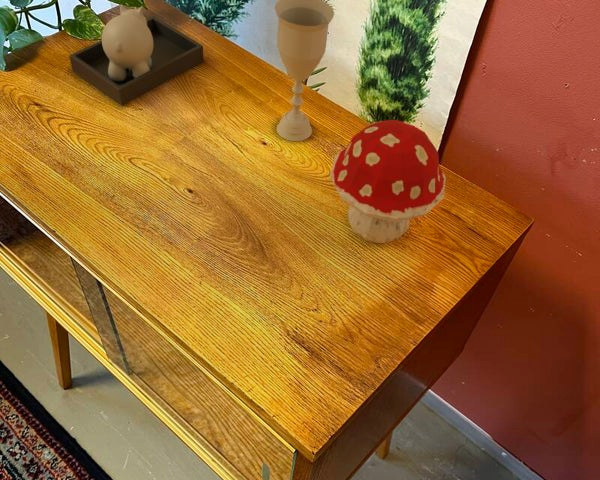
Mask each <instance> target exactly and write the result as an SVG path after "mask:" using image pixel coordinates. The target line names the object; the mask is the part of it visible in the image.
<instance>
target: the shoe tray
mask: <svg viewBox="0 0 600 480" xmlns="http://www.w3.org/2000/svg"><path fill="white" fill-rule="evenodd" d="M146 21H147V27H148V28H149V30H150V32H151V34H152V37H153V51H152V54H151V56H150V57H151V60H152V67H151V68H150V71H148V72H146V73H144V74H143V75H141V76H139V77H137V78H135V79H134V77H133V73H132V72H130V71H129V69H126V73H127V76H126V79H125V80H123V81H119V82H116V81H113V80H111V79H110V78H109V75H108V68H109V64H110V60H109V58H108V57H107V55H106V54H105V52H104V49H103V46H102V39H101V40H98V41H97V42H95V43H93V44H90V45H88V46H86V47H85V48H82V49H79V50H77V51H75V52H73V53H71V54H69V55H68V57H69V61H70V65H71V70H72V72H73V73H74V74H76V75H77V76H78V77H80V78H81V79H83V80H84V81H85V82H87V83H89V84H90V85H92V86H93V87H94V88H96V89H97V90H98V91H100V92H102V93H103V94H105V95H106V96H107V97H108V98H110V99H111V100H112V101H114V102H116V103H117V104H118V105H120V106H123V105H126V104H128V103H129V102H131V101H134V100H135V99H137V98H139V97H140V96H143V95H144V94H147V93H148V92H149V91H151V90H154V89H156V88H157V87H159V86H161V85H163V84H165V83H166V82H168V81H170V80H172V79H174V78H176V77H178V76H180V75H181V74H184V73H185V72H186V71H189V70H191V69H192V68H194V67H196V66H198V65H200V64H202V63H204V61H205V60H204V59H205V58H204V56H205V55H204V45H202V44H201V43H199V42H198V41H196V40H194V39H192V38H191V37H189V36H188V35H186V34H185V33H183V32H181V31H180V30H178V29H176V28H175V27H173V26H172V25H170V24H168V23H167V22H165V21H163V20H161V19H160V18H158V17H157V16H155V15H152V16H151V17H148V18H146Z"/></svg>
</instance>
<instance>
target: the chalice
mask: <svg viewBox="0 0 600 480" xmlns="http://www.w3.org/2000/svg"><path fill="white" fill-rule="evenodd" d="M274 9H275V11H274V12H275V13H276V15H277V18H278V24H277V37H276V38H277V39H276V40H277V41H276V46H277V49H278V52H279V55H280V59H281V62H282V64H283V66H284V68H285V70H286V72H287V75H288V76H289V77H290V78H291V79H293V80H294V84H293V86H292V87H291V91H292V92H293V93H292V94H293V95H292V97H291V98H290V100H289V101H290V104H292V105H291V106H292V108H291V110H288V111H287V112H285V113H284V114H283V115H282V117H281V119H280V120H279V123H278V124H277V126H276V132H277V134H278V136H280V137H281V138H283V139H284V140H287V141H289V142H302V141H305V140H307V139H308V138H310V137H311V136H312V134H313V133H312V132H313V128H312V126H311V123H310V121H309V118H308V116H307V115H306V114H305V113H304V112H303V111H301V105H303V104H304V100H303V99H302V93H303V92H304V91H305V90H304V88H303V81H304V80H305V81H306V80H308V79H309V78H310V77H311V75H312V74H313V72H314V71H315V70H316V68H317V67H318V66H319V65H320V63H321V61H322V59H323V57H324V55H325V53H326V48H327V40H328V33H329V32H328V31H329V24H330V23H331V22H332V20H333V19H334V16H335V11H334V9H333V7H332V6H331V5H330V4H329V3H328V2H325V1H324V0H278V1H277V2H276V3H275V6H274Z"/></svg>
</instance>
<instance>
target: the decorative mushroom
mask: <svg viewBox="0 0 600 480" xmlns="http://www.w3.org/2000/svg"><path fill="white" fill-rule="evenodd" d="M329 178H330V180H331V182H332V184H333V186H334V188H335V190H336V192H337V194H338V196H339V197H340V199H341V201H342V202H343V203H345V204H346V205H348V210H347V214H346V219H347V221H348V223H349V225H350V227H351V229H352V230H353V232H354V233H355V235H357V236H359V237H360V238H361V239H363V240H364V241H366V242H369V243H373V244H386V243H389V242H390V243H391V242H393V241H396V240H398V239H399V238H400V237H402V236H403V234H405V233H406V232H407V231H408V230H409V227H410V221H411V220H413V219H416V218H422V217H425V216H426V215H427V214H428V213H429V212H431V210H432V209H434V208H435V207H436V206H437V205H438V204H440V203H441V201H442V200H443V199H444V198H445V191H446V190H445V189H446V179H447V177H446V175H445V173H444V171H443V170H442V168H441V166H440V156H439V151H438V150H437V148H436V147H435V145H434V143H433V142H432V141H431V140H430V138H429V136H428V135H427V133H426V132H425V131H423V130H422V129H420V128H419V127H417V126H415V125H414V124H411V123H409V122H406V121H401V120H397V119H388V120H381V121H373V122H372V123H370V124H369V125H367V126H366V127H364V128H363V129H362V130H360V131H359V132H357V133H356V134H354V135H353V136H352V138H351V139H350V141H349V142H348V144H347V146H346V147H345V148H344V149H342V150H341V151H339V152H338V153H336V154H335V155H334V158H333V162H332V166H331V170H330V174H329Z"/></svg>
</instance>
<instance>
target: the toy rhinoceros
mask: <svg viewBox="0 0 600 480" xmlns="http://www.w3.org/2000/svg"><path fill="white" fill-rule="evenodd" d="M119 12H120V14H119V15H117V16H115V17H112V18H111V19H110V20H109V21H107V23H106V24H105V26H104V27H103V30H102V33H101V40H102V46H103V49H104V52H105V54H106V55H107V57H108V58H109V60H110V64H109V68H108V75H109V78H110V79H111V80H113V81H116V82H119V81H123V80H125V79H126V76H127V73H126V69H129V71H130V72H132V73H133V77H134V79H135V78H137V77H139V76H141V75H143V74H144V73H146V72H148V71H150V68H151V67H152V60H151V57H150V56H151V54H152V51H153V37H152V34H151V32H150V30H149V28H148V27H147V21H146V19H147V18H146V17H145V15H144V14H145V8H144V6H143V5H141V6H140V7H138V8H137V7H136V6H134V8H126V7H125V5H123V4H122V3H121V4H119Z"/></svg>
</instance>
